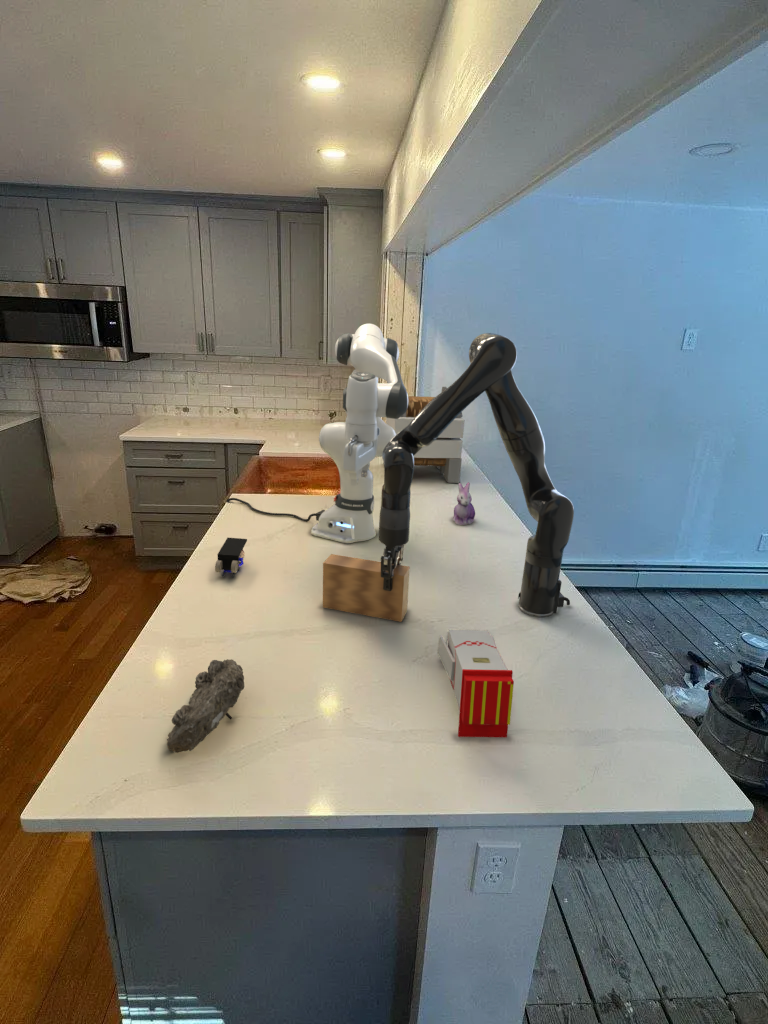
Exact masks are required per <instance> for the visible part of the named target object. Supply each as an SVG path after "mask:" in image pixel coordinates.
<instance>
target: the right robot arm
mask: <svg viewBox="0 0 768 1024" xmlns="http://www.w3.org/2000/svg"><path fill="white" fill-rule="evenodd" d="M517 357H518V350H517V346H516V344H515V343H514V341H512V339H510V338H508V337H507V336H505V335H501V334H498V333H493V332H484V333H481V334H479V335H477V336H476V337H474V339H473V340H472V341H471V343H470V347H469V349H468V359H469V363H470V364H469V365H468V366H467V368H466V369H465V371H463V373H462V374H461V375H460V376H459V377H458V378H457V379H456V380H455V381H454V382H452V383H451V384H450V385H449V386H448V387H447V389H445V390H444V391H443V392H442V391H441V392H439V393H438V394H437V395H436V396H434V397H435V398H434V399H432V400H431V401H430V402H429V403H428V404H427V405H426V406H425V407H424V408H423V409H422V410H421V411H420V412H419V413H418V415H417V416H416V417H415V418H414V419H413V420H412V421H411V423H410V424H409V425H408V426H407V427H405V428H404V429H403V430H402V431H400V432H399V433H398V434H397V435H396V436H394V437H393V438H392V439H391V440H390V441H389V442H388V444H387V445H386V446H385V448H384V450H383V453H382V457H381V458H382V462H383V463H384V464H383V472H384V473H383V484H382V487H381V497H380V510H379V519H378V541H379V542H380V543H381V544H383V545H384V546H385V548H383V552H382V555H380V556H381V557H380V562H381V577H382V578H384V582H383V589H384V590H386V591H391V590H392V586H393V576H394V575H393V574H394V569H396V568H397V565H402V561H403V560H404V547H405V545H406V544H408V542H409V540H410V525H411V492H412V491H411V487H412V483H413V478H414V471H415V466H414V455H415V454H416V453H417V452H418V451H419V450H420V449H421V448H423V447H424V446H429V445H430V444H431V443H433V442H434V441H435V440H436V439H435V438H437V437H438V436H439V435H440V434H441V433H442V432H443V431H444V430H445V429H446V428H447V427H448V426H449V424H450V423H451V422H452V421H453V420H454V419H455V418H456V417H457V416H458V415H459V414H460V413H461V412H462V413H463V411H464V410H466V408H467V407H469V406H470V405H471V404H472V403H473V402H475V400H476V399H478V397H480V396H481V395H482V394H483V393H484V392H485V394H486V397H487V399H488V403H489V405H490V409H491V412H492V415H493V417H494V420H495V423H496V426H497V429H498V432H499V435H500V438H501V440H502V443H503V445H504V448H505V450H506V453H507V455H508V457H509V459H510V462H511V464H512V467H513V468H514V471H515V473H516V474H517V477H518V480H519V482H520V484H521V489H522V492H523V496H524V500H525V505H526V507H527V510H528V513H529V515H530V516H531V518H532V519H533V520H535V522H537V525H536V531H535V534H533V535H530V536H529V537H528V539H527V543H526V550H525V557H524V566H523V572H522V577H521V578H522V579H521V585H520V592H519V593H518V596H517V599H518V604H517V607H518V609H519V610H520V611H521V612H522V613H524V614H526V615H529V616H531V617H536V618H548V617H550V616H553V615H554V614H558V613H557V612H558V608H564V606H565V605H564V604H565V602H566V605H567V606H570V605H571V600H570V599H569V598H568V597H566V596H564V595H563V593H562V592H561V588H562V580H561V579H560V576H561V575H560V574H561V569H562V562H563V557H564V551H565V548H566V546H567V545H568V543H569V540H570V536H571V531H572V527H573V522H574V515H575V507H574V504H573V502H572V501H571V500H570V498H568V497H567V496H565V495H564V494H562V493H561V492H559V491H558V490H557V489H556V487H555V486H554V483H553V482H552V479H551V477H550V475H549V472H548V470H547V466H546V443H545V437H544V435H543V432H542V429H541V426H540V424H539V421H538V419H537V417H536V415H535V413H534V411H533V409H532V407H531V406H530V404H529V403H528V401H527V399H526V398H525V397H524V395H523V393H522V392H521V390H520V389H519V387H518V385H517V383H516V381H515V377H514V375H513V371H512V369H513V368H514V366H515V365H516V362H517ZM392 564H394V565H392ZM386 571H388V572H389V573H388V572H386Z"/></svg>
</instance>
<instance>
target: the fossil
mask: <svg viewBox="0 0 768 1024" xmlns="http://www.w3.org/2000/svg"><path fill="white" fill-rule="evenodd" d="M243 670H244V669H243V667H242V665H240V664H237V662H236V661H235V660H234V659H232V658H231V659H227V658H226V659H224V660H223V661H222V660H217V659H212V660H211V661H210V663H209V665H208V666H207V671H201V672H199V673H198V674H197V675H196V676H195V680H194V684H195V685H194V687H195V689H194V690H193V693H192V694H191V697H190V698H189V700H188V704H184V705H182V706H181V707H180V709H177V710H176V711H175V713H174V715H173V716H172V718H171V723H172V724H173V727H172V730H171V731H170V732H168V734H167V738H166V741H167V742H166V745H167V749H168V750H169V751H173V752H174V753H176V754H178V753H182V752H188V751H189V752H192V751H193V750H195V748H196V747H197V746H199V744H200V743H201V742H203V741H204V740H205V739H206V738H207V737H208V736H209V735H210V734H211V733H212V732H214V730H215V729H217V727H218V726H219V724H220V722H221V721H222V720H223V719H224V718H225V716H226V717H227V719H229V720H233V717H232V715H230V714H229V710H230V709H231V708H234V706H235V704H236V703H237V702H238V699H239V697H240V695H241V693H242V691H243V690H245V689H244V688H245V675H244V671H243Z"/></svg>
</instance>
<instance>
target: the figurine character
mask: <svg viewBox="0 0 768 1024" xmlns="http://www.w3.org/2000/svg"><path fill="white" fill-rule="evenodd" d="M247 542H248V538H240V537H226V539H225V541H224V543H223V544H222V546H221V547H220V549H219V551H218V552H217V560H216V562H215V564H214V572H215V573H221V577H222V578H224V577H225V576H226V574H227V573H230V574H231V573H232V574H231V578H234V577H235V575H236V573H237V572H239V571H240V567H242V566H243V565H244V564H245V562H244V558H245V551H244V547H245V546H246V544H247Z"/></svg>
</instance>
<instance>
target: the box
mask: <svg viewBox="0 0 768 1024" xmlns="http://www.w3.org/2000/svg"><path fill="white" fill-rule="evenodd" d="M392 565H394V564H392ZM410 569H411V566H409V565H402V564H401V565H397V568H396V569H394V574H393V575H394V576H393V586H392V590H391V591H386V590H384V589H383V582H384V578H382V577H381V561H377V560H370V559H365V558H359V557H352V556H348V555H347V556H346V555H340V554H333V553H331V554H330V555H329V556H328V557H327V558H326V559H325V560H324V561H323V562H322V608H324V609H330V610H334V611H340V612H346V613H352V614H356V615H362V616H368V617H371V618H372V617H373V618H379V619H384V620H389V621H395V622H402V621H403V620H404V618H405V616H406V614H407V612H408V602H409V601H408V600H409V588H410V587H409V585H410V572H411V571H410ZM386 572H388V571H386ZM388 573H389V572H388Z"/></svg>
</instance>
